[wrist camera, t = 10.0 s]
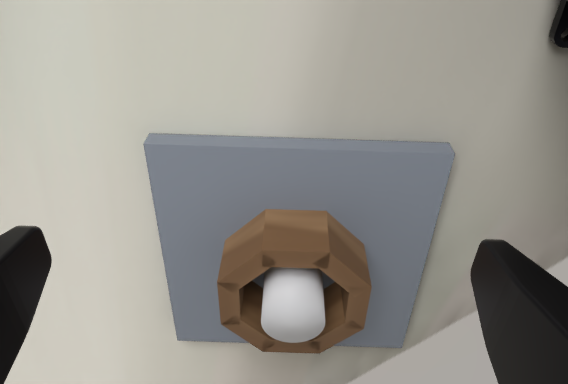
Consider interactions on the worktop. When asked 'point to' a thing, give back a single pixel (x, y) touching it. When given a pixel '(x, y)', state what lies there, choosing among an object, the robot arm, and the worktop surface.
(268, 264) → the walnut ring
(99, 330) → the worktop surface
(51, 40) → the worktop surface
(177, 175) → the post plate
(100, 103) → the worktop surface
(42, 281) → the robot arm
